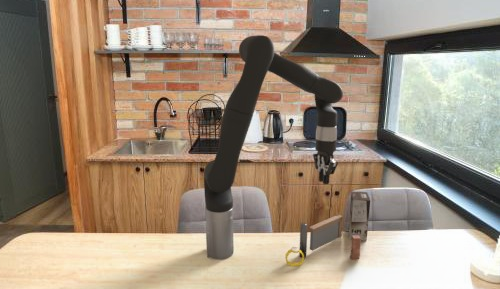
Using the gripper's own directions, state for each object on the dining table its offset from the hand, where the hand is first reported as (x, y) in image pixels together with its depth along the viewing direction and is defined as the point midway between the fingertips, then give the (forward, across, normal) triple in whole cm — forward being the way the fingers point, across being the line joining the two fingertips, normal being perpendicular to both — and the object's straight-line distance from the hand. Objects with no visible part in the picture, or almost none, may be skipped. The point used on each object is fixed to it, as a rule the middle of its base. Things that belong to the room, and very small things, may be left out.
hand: (323, 182), depth 130 cm
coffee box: (+21, +6, +13) cm, 25 cm away
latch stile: (+21, +19, +1) cm, 29 cm away
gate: (+20, +9, -4) cm, 22 cm away
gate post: (+21, +12, -15) cm, 28 cm away
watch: (+21, +15, -20) cm, 33 cm away
